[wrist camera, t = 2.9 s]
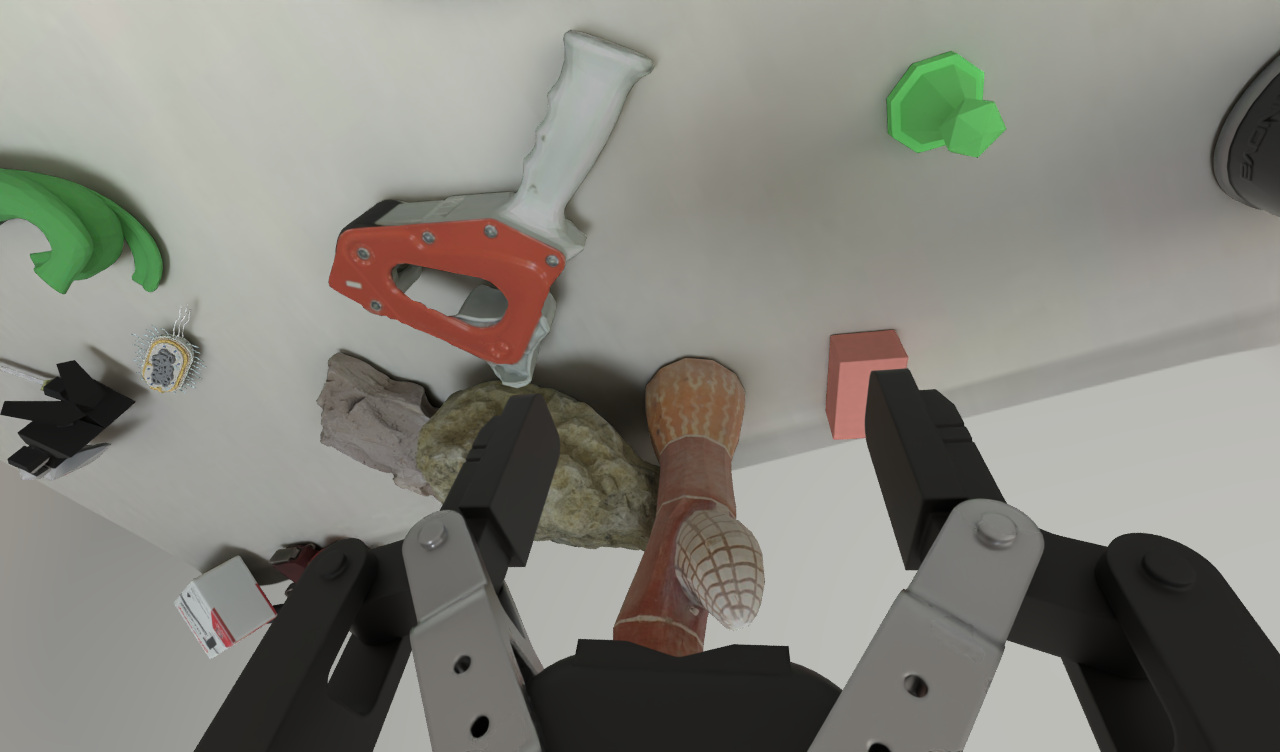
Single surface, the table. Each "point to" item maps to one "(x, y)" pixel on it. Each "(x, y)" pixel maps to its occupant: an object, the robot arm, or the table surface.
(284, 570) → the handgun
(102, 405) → the toy
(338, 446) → the stone
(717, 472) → the plant stem model
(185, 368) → the bacterium model
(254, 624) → the ink box
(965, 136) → the game piece
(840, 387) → the eraser
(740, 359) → the table surface
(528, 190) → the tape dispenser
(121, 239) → the toy
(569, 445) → the rock
